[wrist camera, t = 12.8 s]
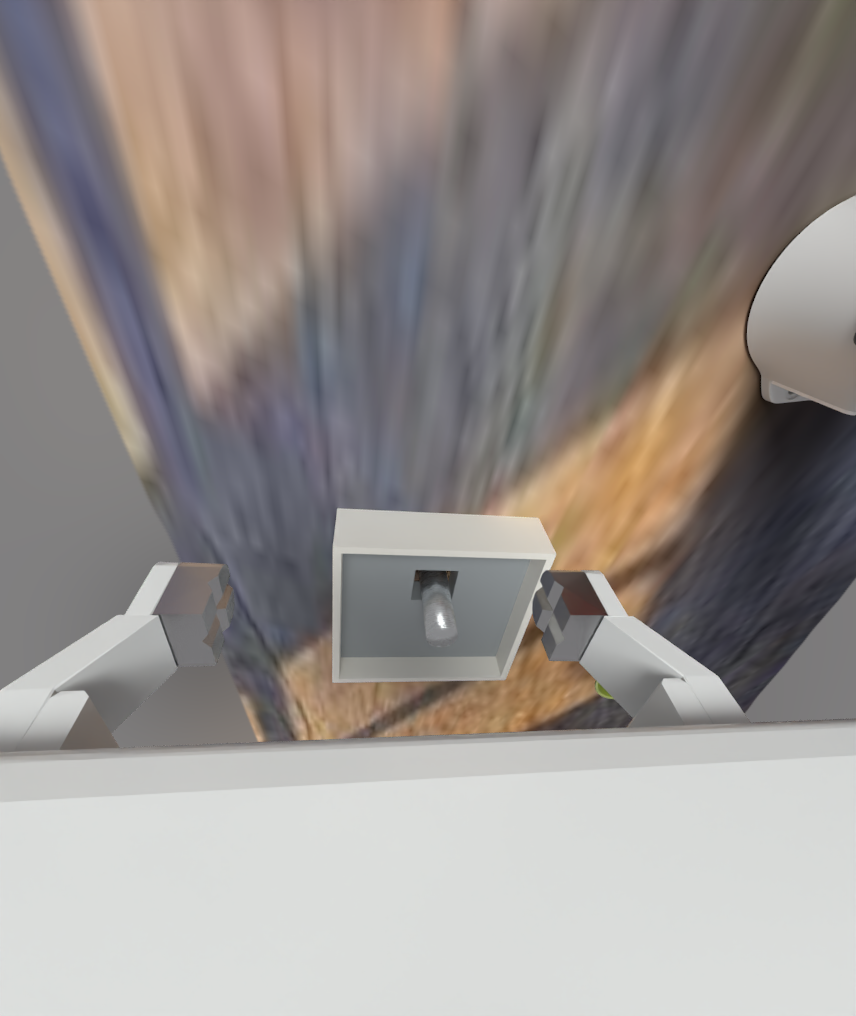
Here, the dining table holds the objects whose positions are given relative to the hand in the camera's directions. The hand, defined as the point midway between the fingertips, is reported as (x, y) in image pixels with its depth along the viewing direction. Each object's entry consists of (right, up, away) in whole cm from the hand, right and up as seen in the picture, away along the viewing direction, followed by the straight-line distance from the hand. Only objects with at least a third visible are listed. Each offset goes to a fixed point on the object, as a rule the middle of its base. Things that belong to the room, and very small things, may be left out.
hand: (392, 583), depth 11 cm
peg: (+1, -5, +40) cm, 40 cm away
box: (+1, -7, +42) cm, 42 cm away
